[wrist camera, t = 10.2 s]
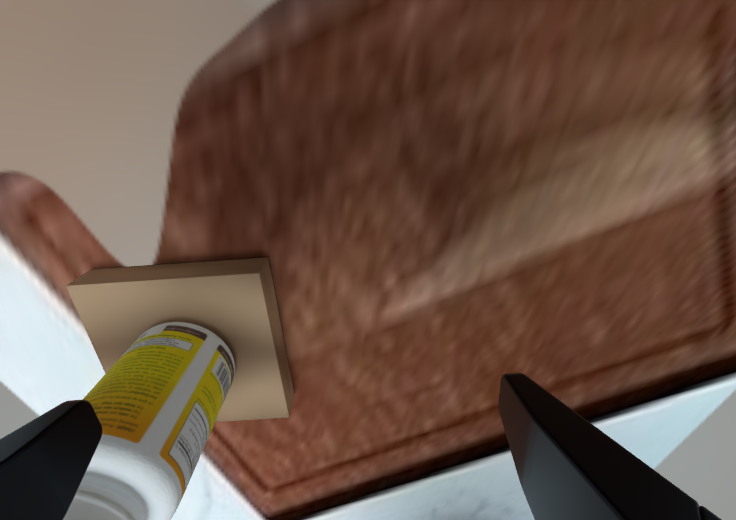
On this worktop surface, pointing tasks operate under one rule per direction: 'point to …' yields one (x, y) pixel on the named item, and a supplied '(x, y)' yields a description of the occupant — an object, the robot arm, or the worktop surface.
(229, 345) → the beige square slab
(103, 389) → the supplement bottle
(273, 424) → the worktop surface
